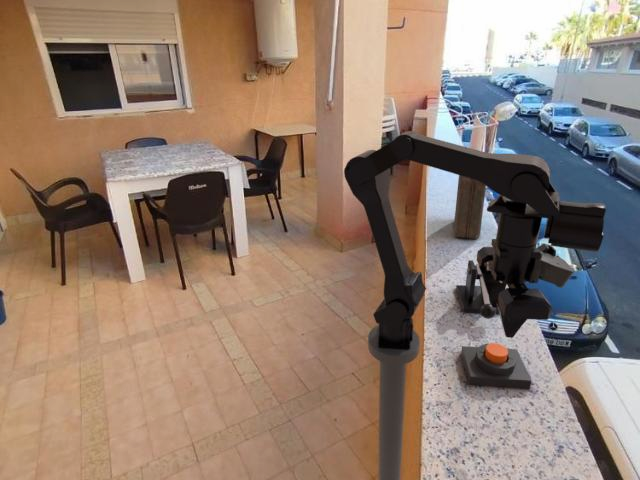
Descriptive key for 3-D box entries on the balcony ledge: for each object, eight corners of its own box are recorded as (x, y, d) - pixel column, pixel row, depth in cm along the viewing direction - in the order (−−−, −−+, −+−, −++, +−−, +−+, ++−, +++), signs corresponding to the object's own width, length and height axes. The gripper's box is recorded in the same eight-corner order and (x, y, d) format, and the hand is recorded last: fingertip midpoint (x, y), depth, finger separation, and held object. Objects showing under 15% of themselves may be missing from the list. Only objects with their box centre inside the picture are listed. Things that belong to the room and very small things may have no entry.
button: (487, 363, 66) (488, 355, 66) (482, 349, 70) (483, 342, 69) (509, 364, 66) (510, 357, 65) (503, 350, 69) (504, 343, 68)
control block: (469, 384, 66) (471, 369, 65) (461, 353, 73) (462, 339, 72) (529, 389, 65) (533, 373, 63) (515, 356, 72) (518, 342, 70)
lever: (495, 321, 80) (498, 315, 78) (479, 320, 81) (482, 314, 78) (485, 270, 88) (488, 263, 85) (471, 270, 88) (474, 262, 86)
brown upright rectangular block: (454, 218, 137) (460, 150, 127) (478, 220, 134) (487, 150, 124) (453, 239, 121) (460, 162, 111) (481, 241, 118) (491, 163, 108)
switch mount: (500, 313, 84) (507, 276, 80) (463, 312, 85) (467, 275, 81) (489, 290, 93) (494, 255, 89) (455, 289, 94) (459, 254, 90)
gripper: (605, 270, 48) (578, 362, 55) (548, 217, 65) (532, 293, 72) (514, 268, 50) (498, 357, 57) (481, 217, 67) (471, 291, 73)
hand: (501, 321), depth 65 cm, fingers open, 8 cm apart
